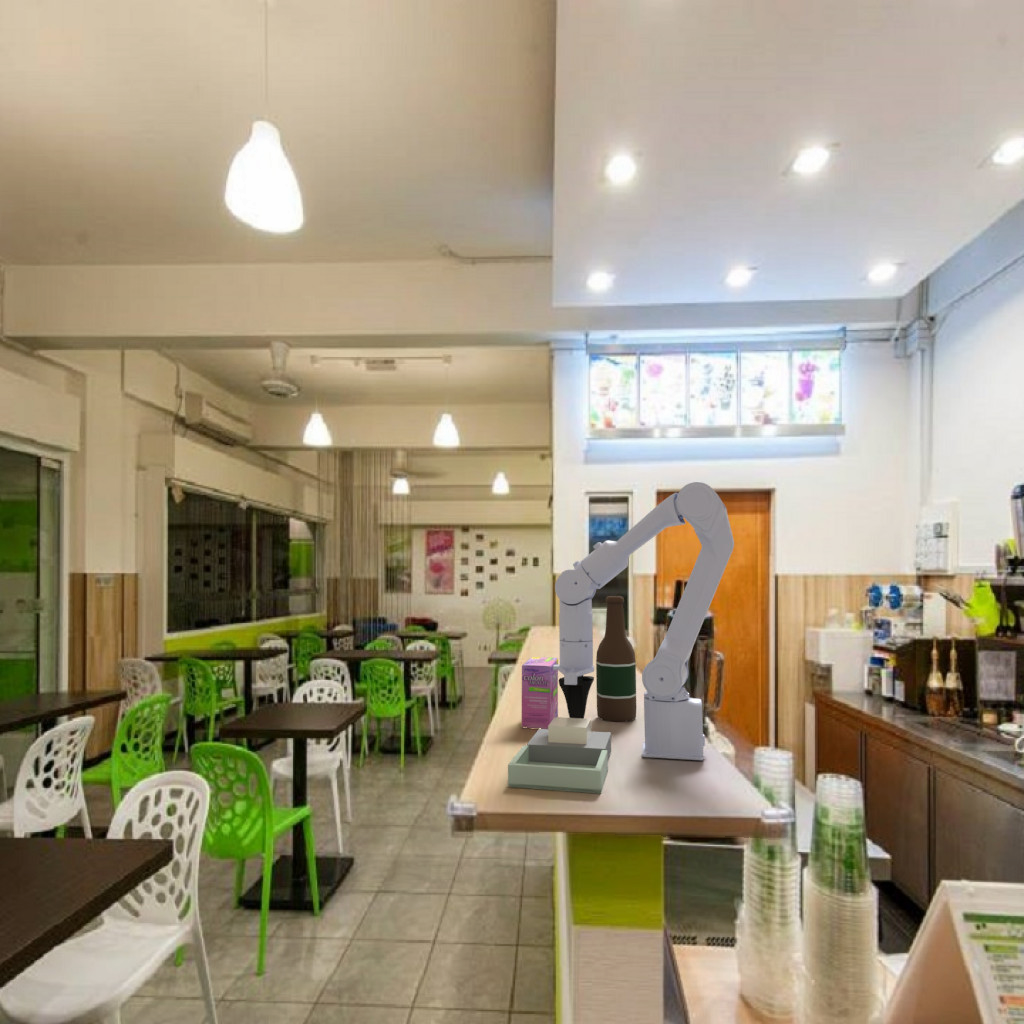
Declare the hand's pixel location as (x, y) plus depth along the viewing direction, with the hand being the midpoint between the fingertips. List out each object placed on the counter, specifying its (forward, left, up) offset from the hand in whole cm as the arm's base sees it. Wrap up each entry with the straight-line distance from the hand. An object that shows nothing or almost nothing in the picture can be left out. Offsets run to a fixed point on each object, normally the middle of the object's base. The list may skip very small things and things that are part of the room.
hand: (576, 720), depth 117 cm
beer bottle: (-5, -21, -4) cm, 22 cm away
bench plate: (0, +8, -4) cm, 9 cm away
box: (+9, -14, -4) cm, 17 cm away
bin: (0, +19, -4) cm, 19 cm away
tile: (0, +8, -1) cm, 8 cm away
